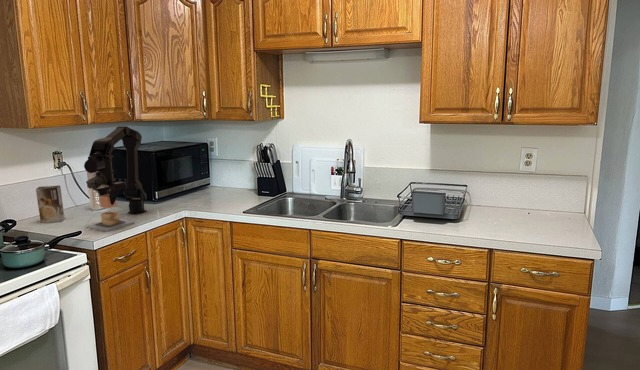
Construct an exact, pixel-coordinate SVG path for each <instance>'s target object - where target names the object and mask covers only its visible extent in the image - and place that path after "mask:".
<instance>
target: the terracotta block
mask: <svg viewBox="0 0 640 370" xmlns="http://www.w3.org/2000/svg"><path fill="white" fill-rule="evenodd" d="M100 202H101V207H104V209H105V208H106V209H109V208H110V209H111V208H113V207H114V208H115V207H117V199H116V200H115V203H114V204H113V205H111V202H110V197H109V193H108V194H106V195H102V196H100Z"/></svg>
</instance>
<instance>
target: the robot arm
mask: <svg viewBox="0 0 640 370" xmlns="http://www.w3.org/2000/svg"><path fill="white" fill-rule="evenodd" d="M142 137H143V135H142V134H141V132H139V131H138V130H136V129H133V128H130V127H129V126H126V125H124V126H123V125H120V126H119V125H118V126H116V128H115V129H114V130H113V131H112V132H110V133H109V134H108V135H107V136H105V137H101V138H98V139H95V140H94V141H93V142H92V145H91V148H90V151H89V155H88V157H87V160H85V162H84V165H83V167H84V170H85V171H87V172H89V173H94V172H96V173H95V174H96V176H95V177H93V178H91V179H89V180H88V179H87V180H86V181H85V183H86V186H87V188H89V189H91V188H92V189H93V190H95V191H97V192H98V193H99V195H100V196H102V195H106V194H109V197H110V202H111V205H113V204H114V203H115V200H116V201H117V197H118V195H119V193H120V191H122V190H123V195H124V200H125V201H127V202H128V209H129V210H128V212H127V214H128V213H130V214H135V215H138V214H142V213H144V212H145V213H146V212H147V211H148V210H147V209H145V201H146V200H147V198H148V197H147V196H148V194H147V193H146V192H145V190H144V188H143V184H142V183H141V181H140V180H139V155H138V154H139V152H138V151H139V148H140V147H141V145H142V139H143V138H142ZM120 141H122V145H123V146H124V148H125V150H126V164H127V165H126V166H127V167H126V168H127V169H126V171H127V180H126V181H116V179H114V174H115V173H116V171H115V170H113V164H112V158H114V155H113V154H111V153H112V152H113V151H114V149H115V145H116V144H117V143H118V142H120ZM87 172H86V173H87ZM89 189H88V190H89Z"/></svg>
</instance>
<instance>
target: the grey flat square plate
mask: <svg viewBox="0 0 640 370" xmlns="http://www.w3.org/2000/svg"><path fill="white" fill-rule="evenodd" d="M133 224H134V225H135V224H136V222H135V221H133V220H127V219H120V218H119V223H116V224H113V225H110V226H109V225H103V224H102V221H101V222H97V223H94V224H91V225H87V226H85V228H86V229H87V228H90V229H89V230H93V229H95V230H94V231H99V230H101V231H100V232H104V231H106V232H105V233H108V232H111V231H113V230H117V228H118V229H120V228H124V227H126V226H131V225H133ZM110 230H111V231H110ZM107 231H108V232H107Z"/></svg>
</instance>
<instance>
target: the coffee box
mask: <svg viewBox="0 0 640 370" xmlns="http://www.w3.org/2000/svg"><path fill="white" fill-rule="evenodd" d="M35 193H36V194H35V195H36V200H37V206H38V213H39V221H40V224H45V223H46V224H47V223H48V224H49V223H57V222H58V223H59V222H60V223H61V222H63V221H64V220H65V218H66V217H65V212H64V211H65V210H64V202H63V197H62V196H63V195H62V188H61V185H46V186H45V185H44V186H38V187H37V188H36V189H35Z"/></svg>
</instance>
